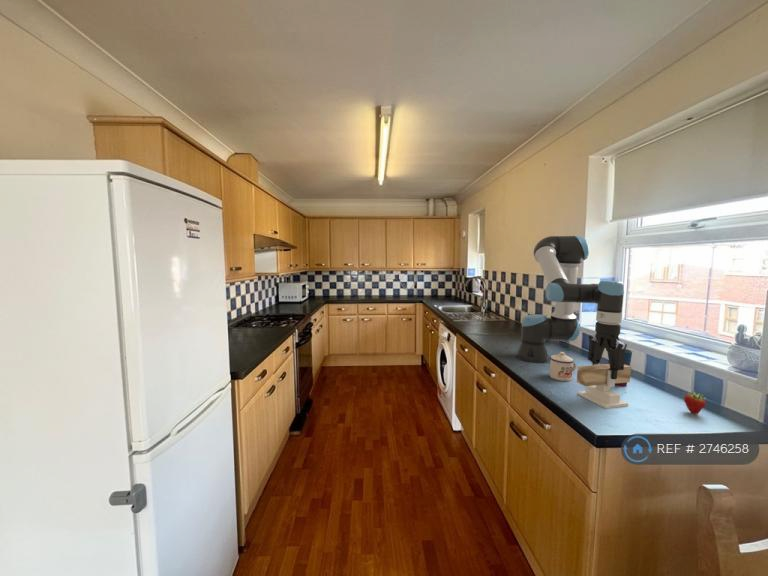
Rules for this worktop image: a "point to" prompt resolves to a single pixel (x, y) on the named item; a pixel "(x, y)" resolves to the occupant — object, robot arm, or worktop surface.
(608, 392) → the fulcrum
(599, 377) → the beam
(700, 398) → the fruit
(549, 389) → the worktop surface
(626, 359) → the cup
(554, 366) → the teacup with lid
